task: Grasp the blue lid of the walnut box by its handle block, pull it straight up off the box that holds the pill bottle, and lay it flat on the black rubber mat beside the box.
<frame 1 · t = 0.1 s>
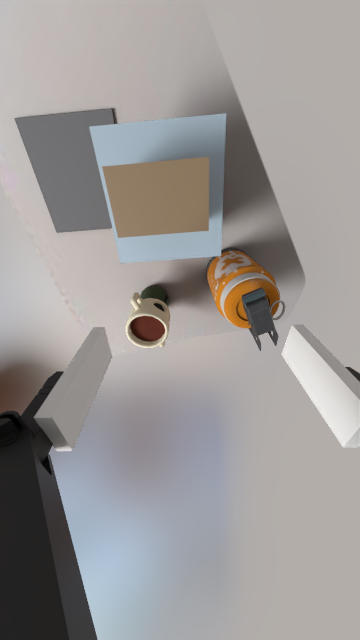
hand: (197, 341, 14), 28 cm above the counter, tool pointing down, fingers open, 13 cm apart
lid: (165, 200, 24), point 11 cm above the counter, touching box
canister: (229, 274, 41), on the counter
mat: (81, 179, 32), on the counter
character mug: (155, 297, 43), on the counter
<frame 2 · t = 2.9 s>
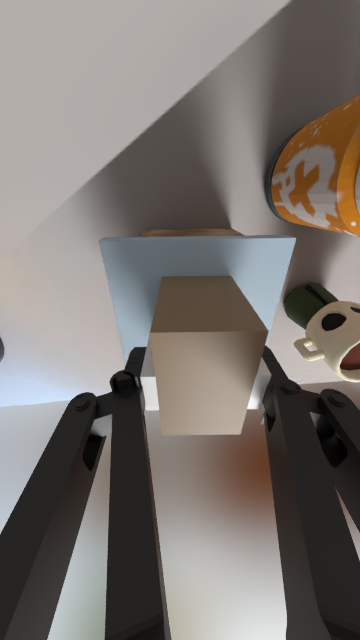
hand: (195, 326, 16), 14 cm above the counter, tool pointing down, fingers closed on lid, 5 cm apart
box: (188, 271, 28), on the counter
lid: (193, 308, 18), point 11 cm above the counter, touching box, gripper
canister: (311, 174, 22), on the counter
character mug: (302, 300, 31), on the counter
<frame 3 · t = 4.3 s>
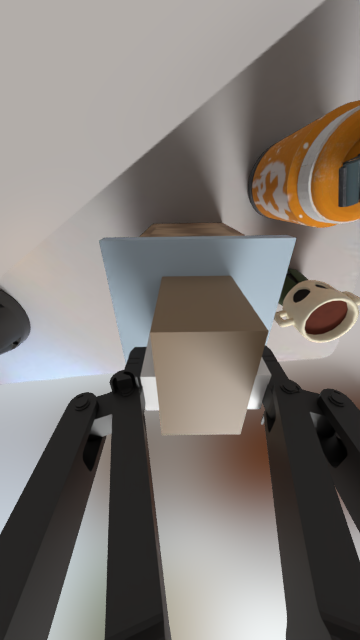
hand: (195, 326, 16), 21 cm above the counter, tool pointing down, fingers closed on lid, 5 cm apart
box: (187, 258, 34), on the counter
lid: (193, 308, 18), point 18 cm above the counter, touching gripper
canister: (285, 179, 28), on the counter
character mug: (283, 284, 37), on the counter
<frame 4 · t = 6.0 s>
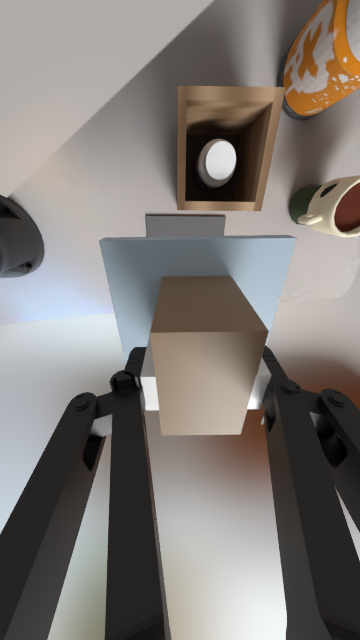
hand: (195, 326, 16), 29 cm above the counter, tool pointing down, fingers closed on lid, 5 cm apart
pill bottle: (210, 170, 34), resting in box
box: (210, 170, 33), on the counter
lid: (193, 308, 18), point 26 cm above the counter, touching gripper
canister: (315, 74, 28), on the counter
mat: (184, 254, 41), on the counter
character mug: (304, 205, 36), on the counter
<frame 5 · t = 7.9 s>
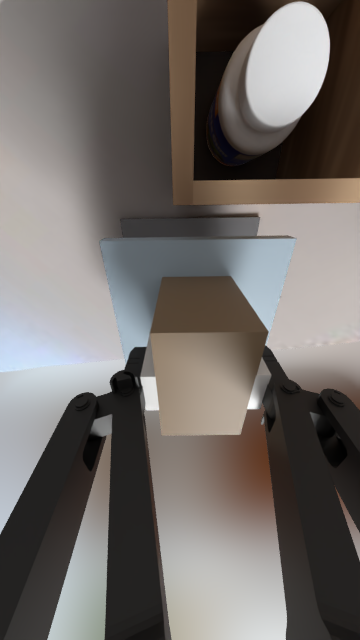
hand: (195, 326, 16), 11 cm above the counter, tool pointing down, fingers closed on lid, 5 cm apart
pill bottle: (234, 130, 18), resting in box
box: (235, 129, 18), on the counter
lid: (193, 309, 18), point 8 cm above the counter, touching gripper
mat: (189, 279, 25), on the counter
when the fingers open (5 cm above the counter, at t = 9.5 s): lid drops 1 cm, resting on mat.
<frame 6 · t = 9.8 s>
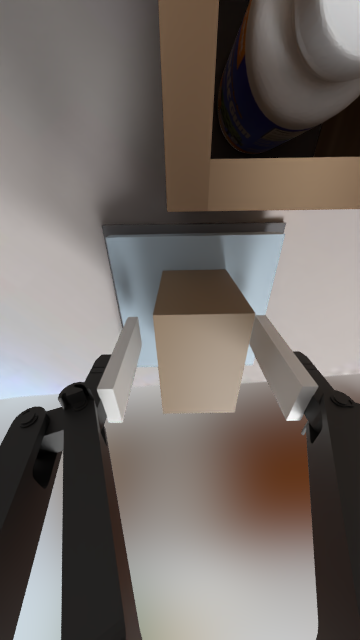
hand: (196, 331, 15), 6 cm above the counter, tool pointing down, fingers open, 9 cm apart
pill bottle: (257, 103, 13), resting in box
box: (258, 102, 13), on the counter
lid: (191, 301, 20), resting on mat
mat: (191, 299, 20), on the counter
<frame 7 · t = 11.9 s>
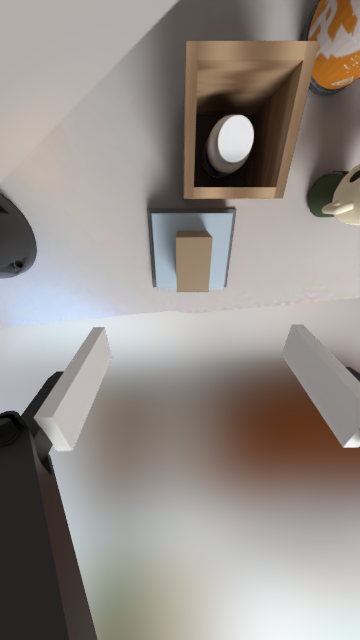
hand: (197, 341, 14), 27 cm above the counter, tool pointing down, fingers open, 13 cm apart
pill bottle: (219, 156, 30), resting in box
box: (219, 156, 30), on the counter
lid: (190, 252, 37), resting on mat
canister: (342, 41, 24), on the counter
mat: (190, 251, 37), on the counter
character mug: (324, 195, 32), on the counter
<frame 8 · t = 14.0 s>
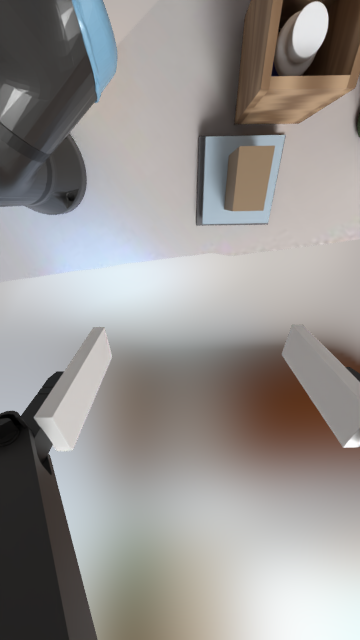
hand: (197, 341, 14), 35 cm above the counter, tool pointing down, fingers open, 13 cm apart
pill bottle: (273, 76, 31), resting in box
box: (274, 75, 30), on the counter
lid: (236, 184, 37), resting on mat
mat: (236, 184, 38), on the counter
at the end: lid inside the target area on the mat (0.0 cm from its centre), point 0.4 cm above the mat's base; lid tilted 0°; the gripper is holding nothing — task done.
